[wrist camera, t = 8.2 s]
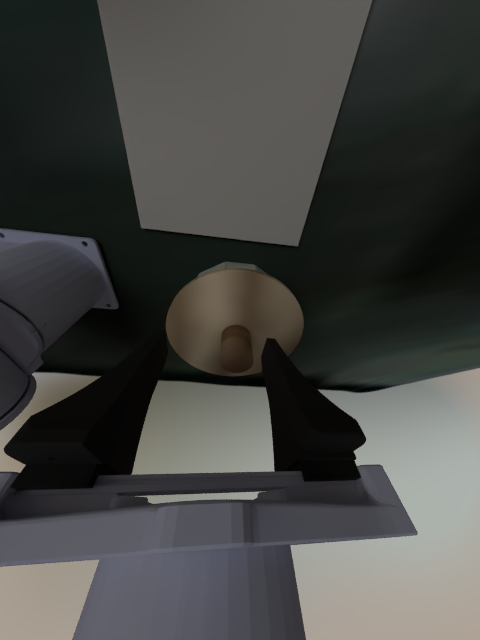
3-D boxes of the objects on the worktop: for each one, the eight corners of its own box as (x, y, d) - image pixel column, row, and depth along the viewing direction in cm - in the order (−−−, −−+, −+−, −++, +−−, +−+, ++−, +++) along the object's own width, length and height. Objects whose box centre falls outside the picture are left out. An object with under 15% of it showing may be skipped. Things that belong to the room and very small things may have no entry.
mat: (143, 226, 17) (141, 227, 16) (72, -153, 8) (64, -171, 7) (296, 245, 18) (297, 246, 18) (384, -53, 9) (391, -64, 9)
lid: (175, 368, 23) (166, 401, 19) (157, 260, 14) (134, 284, 11) (282, 372, 24) (290, 403, 21) (322, 275, 16) (347, 301, 12)
